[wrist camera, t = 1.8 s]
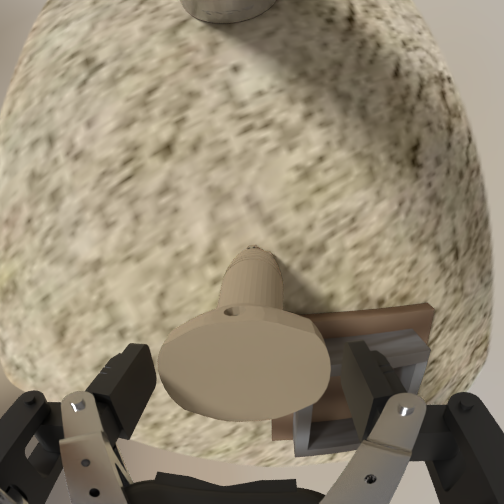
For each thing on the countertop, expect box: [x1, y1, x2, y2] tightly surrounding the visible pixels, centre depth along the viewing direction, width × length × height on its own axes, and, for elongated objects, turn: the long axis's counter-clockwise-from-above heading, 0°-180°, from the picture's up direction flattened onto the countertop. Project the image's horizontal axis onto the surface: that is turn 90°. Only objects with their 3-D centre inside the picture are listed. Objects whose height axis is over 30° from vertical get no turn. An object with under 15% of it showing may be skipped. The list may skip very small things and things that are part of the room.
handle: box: [158, 245, 331, 422], centre depth 17 cm, size 5×6×15 cm
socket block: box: [272, 303, 435, 457], centre depth 24 cm, size 16×16×6 cm
